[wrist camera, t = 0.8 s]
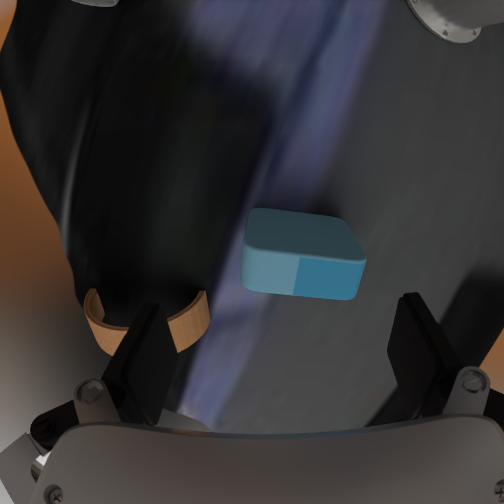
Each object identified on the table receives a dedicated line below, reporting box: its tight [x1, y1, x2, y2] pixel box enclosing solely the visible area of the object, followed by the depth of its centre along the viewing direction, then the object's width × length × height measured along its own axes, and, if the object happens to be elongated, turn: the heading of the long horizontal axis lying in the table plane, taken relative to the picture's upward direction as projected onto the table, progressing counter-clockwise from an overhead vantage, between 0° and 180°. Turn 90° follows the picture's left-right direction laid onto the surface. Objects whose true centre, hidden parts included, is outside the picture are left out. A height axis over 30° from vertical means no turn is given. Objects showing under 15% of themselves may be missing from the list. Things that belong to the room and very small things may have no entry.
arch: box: [84, 288, 210, 356], centre depth 41 cm, size 6×20×10 cm, turn 92°
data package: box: [240, 208, 367, 300], centre depth 33 cm, size 12×4×12 cm, turn 85°
